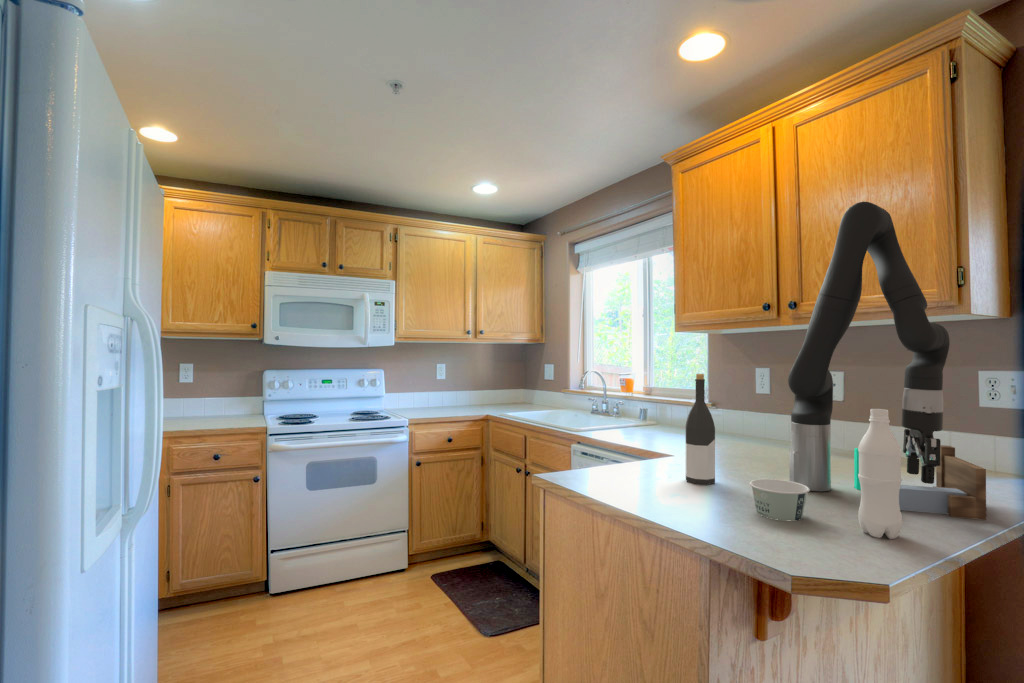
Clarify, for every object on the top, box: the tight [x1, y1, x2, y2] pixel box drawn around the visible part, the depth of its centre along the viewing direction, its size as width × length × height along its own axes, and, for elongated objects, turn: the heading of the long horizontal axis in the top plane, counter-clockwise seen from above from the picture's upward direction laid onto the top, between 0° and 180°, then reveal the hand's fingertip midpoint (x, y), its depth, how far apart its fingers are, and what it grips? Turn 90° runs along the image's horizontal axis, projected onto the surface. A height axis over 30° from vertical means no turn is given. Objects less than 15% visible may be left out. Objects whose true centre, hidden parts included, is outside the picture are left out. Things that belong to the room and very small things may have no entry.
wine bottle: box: [685, 373, 716, 486], centre depth 148 cm, size 8×8×30 cm
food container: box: [749, 478, 811, 521], centre depth 119 cm, size 12×12×6 cm
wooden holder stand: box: [932, 444, 987, 521], centre depth 125 cm, size 7×18×13 cm, turn 162°
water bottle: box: [857, 408, 903, 540], centre depth 106 cm, size 7×7×25 cm
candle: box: [853, 447, 861, 491], centre depth 140 cm, size 6×6×12 cm
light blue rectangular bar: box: [899, 484, 968, 515], centre depth 122 cm, size 14×4×5 cm, turn 72°
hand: (919, 478), depth 123 cm, fingers open, 8 cm apart
